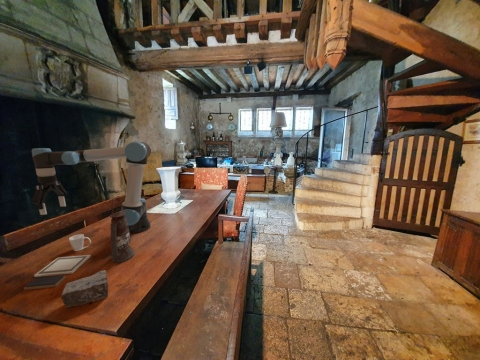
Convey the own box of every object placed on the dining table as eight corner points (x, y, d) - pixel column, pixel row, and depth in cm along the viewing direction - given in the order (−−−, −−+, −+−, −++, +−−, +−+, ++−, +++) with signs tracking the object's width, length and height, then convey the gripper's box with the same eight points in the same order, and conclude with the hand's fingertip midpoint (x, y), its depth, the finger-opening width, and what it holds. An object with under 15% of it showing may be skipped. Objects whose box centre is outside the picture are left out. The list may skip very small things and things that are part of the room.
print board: (90, 256, 101) (90, 254, 101) (72, 273, 88) (72, 271, 87) (58, 258, 98) (57, 257, 98) (34, 277, 85) (33, 275, 85)
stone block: (111, 283, 82) (109, 268, 81) (109, 297, 74) (107, 281, 73) (70, 295, 75) (67, 279, 73) (63, 312, 67) (60, 295, 66)
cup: (75, 246, 110) (72, 234, 108) (94, 244, 113) (92, 232, 111) (68, 253, 103) (65, 240, 102) (88, 250, 106) (86, 238, 105)
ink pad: (65, 277, 85) (65, 274, 84) (56, 286, 79) (55, 283, 79) (36, 280, 83) (35, 277, 82) (24, 289, 77) (23, 286, 77)
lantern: (103, 266, 93) (94, 202, 86) (120, 248, 108) (113, 193, 102) (126, 265, 94) (118, 201, 87) (139, 247, 110) (133, 192, 103)
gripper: (57, 172, 115) (63, 203, 119) (16, 179, 91) (25, 218, 95) (70, 171, 116) (76, 203, 120) (33, 179, 92) (42, 217, 96)
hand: (54, 210), depth 108 cm, fingers open, 13 cm apart
